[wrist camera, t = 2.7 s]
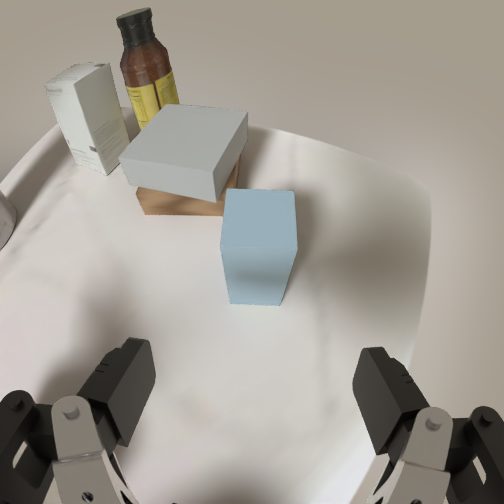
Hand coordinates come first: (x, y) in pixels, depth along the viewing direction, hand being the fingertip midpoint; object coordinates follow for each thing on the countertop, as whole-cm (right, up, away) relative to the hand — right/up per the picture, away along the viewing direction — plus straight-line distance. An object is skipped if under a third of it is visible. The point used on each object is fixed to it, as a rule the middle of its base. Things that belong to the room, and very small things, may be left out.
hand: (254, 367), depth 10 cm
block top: (-7, +14, +19) cm, 25 cm away
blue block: (0, +1, +16) cm, 16 cm away
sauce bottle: (-13, +21, +27) cm, 37 cm away
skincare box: (-22, +18, +25) cm, 38 cm away
